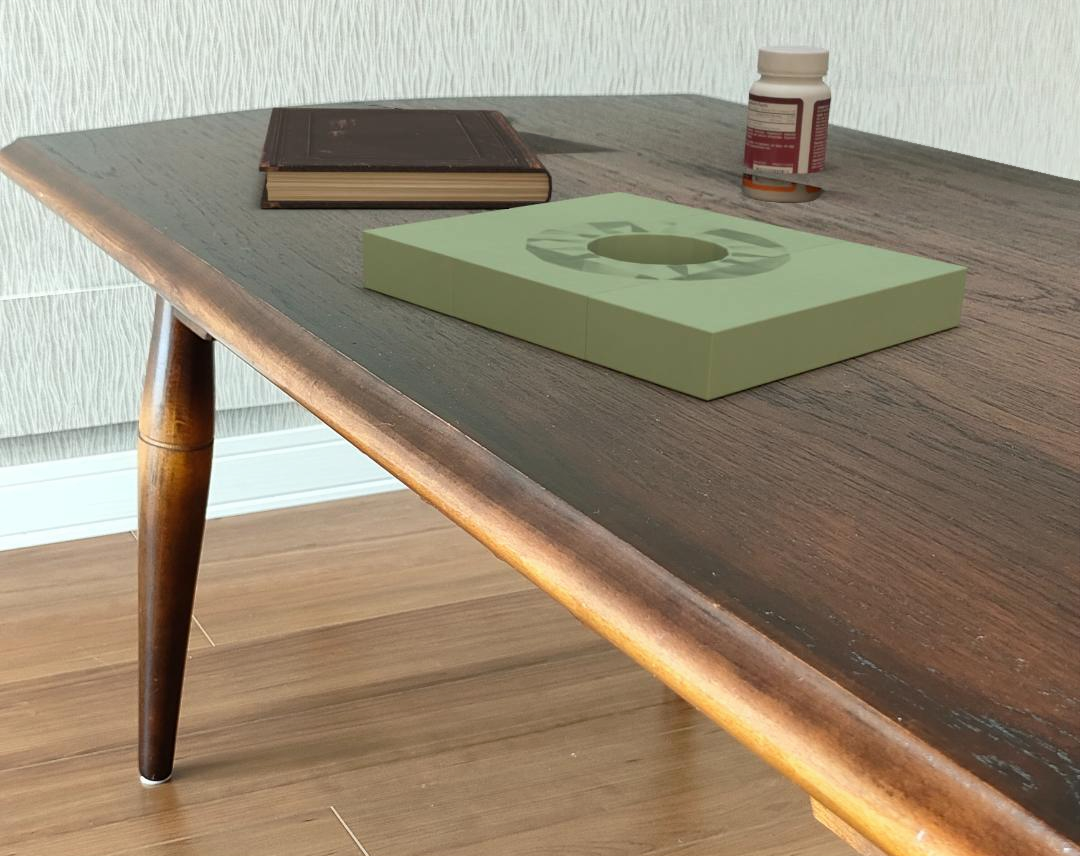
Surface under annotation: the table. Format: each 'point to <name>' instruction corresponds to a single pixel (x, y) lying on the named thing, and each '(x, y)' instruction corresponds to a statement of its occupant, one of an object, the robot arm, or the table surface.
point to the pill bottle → (787, 122)
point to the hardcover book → (398, 160)
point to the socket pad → (666, 288)
